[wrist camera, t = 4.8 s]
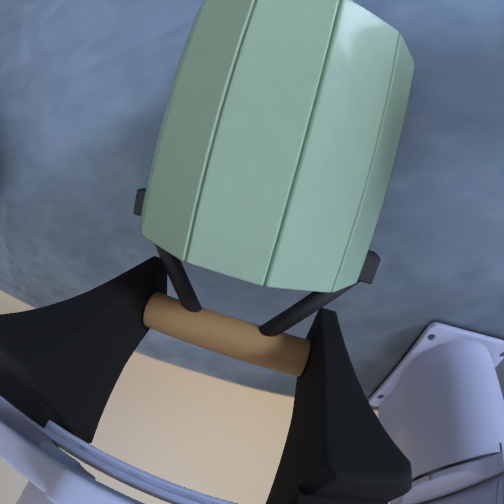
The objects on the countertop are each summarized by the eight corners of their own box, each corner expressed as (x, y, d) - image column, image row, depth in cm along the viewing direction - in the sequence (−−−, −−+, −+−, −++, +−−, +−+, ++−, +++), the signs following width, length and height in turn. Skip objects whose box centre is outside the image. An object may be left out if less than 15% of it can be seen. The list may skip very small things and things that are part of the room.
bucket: (397, 102, 12) (324, 338, 14) (213, 56, 12) (159, 286, 15) (469, 44, 5) (331, 447, 8) (144, -22, 6) (72, 355, 8)
